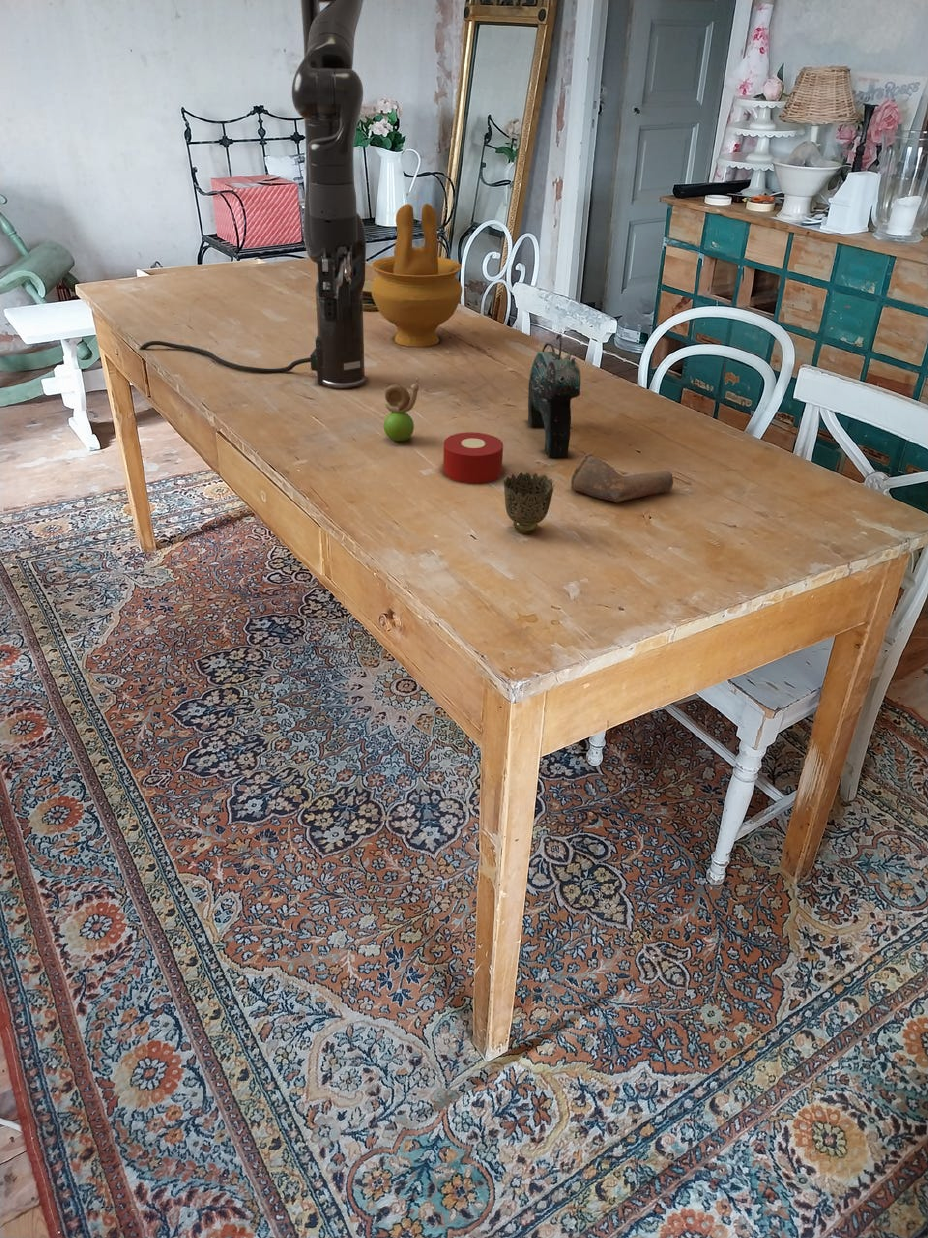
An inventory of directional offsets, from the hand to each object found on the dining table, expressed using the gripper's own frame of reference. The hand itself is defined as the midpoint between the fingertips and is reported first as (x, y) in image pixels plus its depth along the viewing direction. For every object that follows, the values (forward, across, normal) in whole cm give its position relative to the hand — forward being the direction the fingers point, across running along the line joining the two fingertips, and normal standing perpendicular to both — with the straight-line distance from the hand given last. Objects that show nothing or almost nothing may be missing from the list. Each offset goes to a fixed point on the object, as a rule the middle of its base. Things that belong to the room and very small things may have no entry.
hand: (337, 313), depth 159 cm
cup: (+22, +31, +35) cm, 52 cm away
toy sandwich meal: (+23, -88, -14) cm, 92 cm away
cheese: (+22, +11, +25) cm, 35 cm away
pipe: (+22, +14, +50) cm, 57 cm away
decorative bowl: (+23, -61, +4) cm, 65 cm away
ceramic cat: (+22, -5, +37) cm, 43 cm away
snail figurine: (+22, 0, +11) cm, 25 cm away
